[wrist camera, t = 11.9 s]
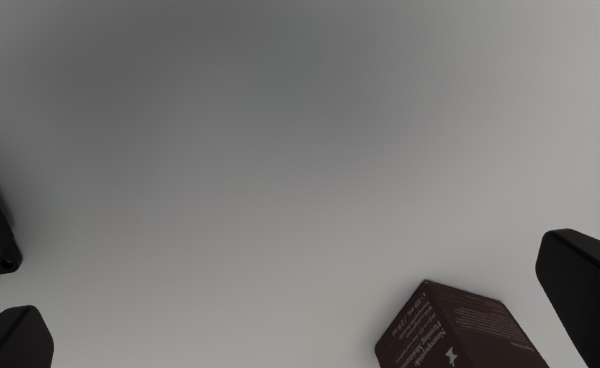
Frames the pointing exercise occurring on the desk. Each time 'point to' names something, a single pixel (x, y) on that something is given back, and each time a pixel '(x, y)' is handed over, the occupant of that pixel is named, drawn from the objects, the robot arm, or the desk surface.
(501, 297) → the desk surface
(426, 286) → the box
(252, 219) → the desk surface
